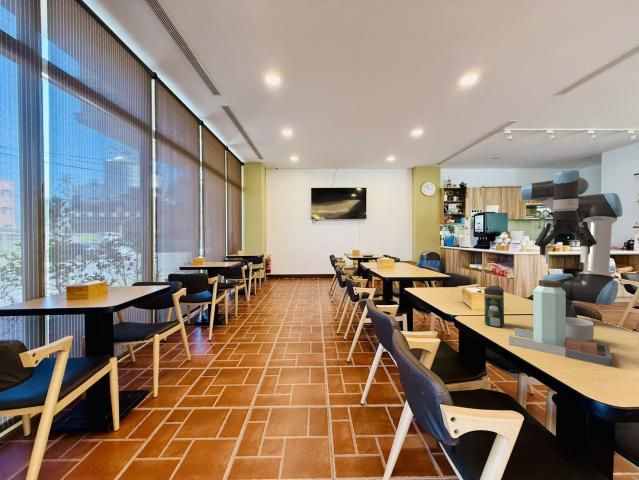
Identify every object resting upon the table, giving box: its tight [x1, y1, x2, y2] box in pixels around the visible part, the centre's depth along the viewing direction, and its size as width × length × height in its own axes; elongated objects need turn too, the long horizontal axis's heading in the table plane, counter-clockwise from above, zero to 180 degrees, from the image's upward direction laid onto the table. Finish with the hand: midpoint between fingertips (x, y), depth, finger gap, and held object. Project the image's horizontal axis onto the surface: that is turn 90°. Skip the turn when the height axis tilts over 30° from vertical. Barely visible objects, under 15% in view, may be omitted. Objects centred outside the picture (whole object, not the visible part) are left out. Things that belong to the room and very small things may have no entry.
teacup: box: [566, 317, 595, 342], centre depth 113 cm, size 14×11×8 cm
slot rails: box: [508, 327, 567, 357], centre depth 107 cm, size 16×15×3 cm
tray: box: [564, 338, 613, 367], centre depth 98 cm, size 11×16×2 cm
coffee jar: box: [483, 285, 505, 328], centre depth 133 cm, size 10×8×19 cm
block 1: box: [566, 339, 581, 352], centre depth 100 cm, size 4×4×4 cm
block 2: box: [581, 341, 598, 355], centre depth 98 cm, size 4×4×4 cm
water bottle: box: [532, 279, 566, 347], centre depth 105 cm, size 10×10×25 cm
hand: (564, 262), depth 112 cm, fingers open, 13 cm apart
